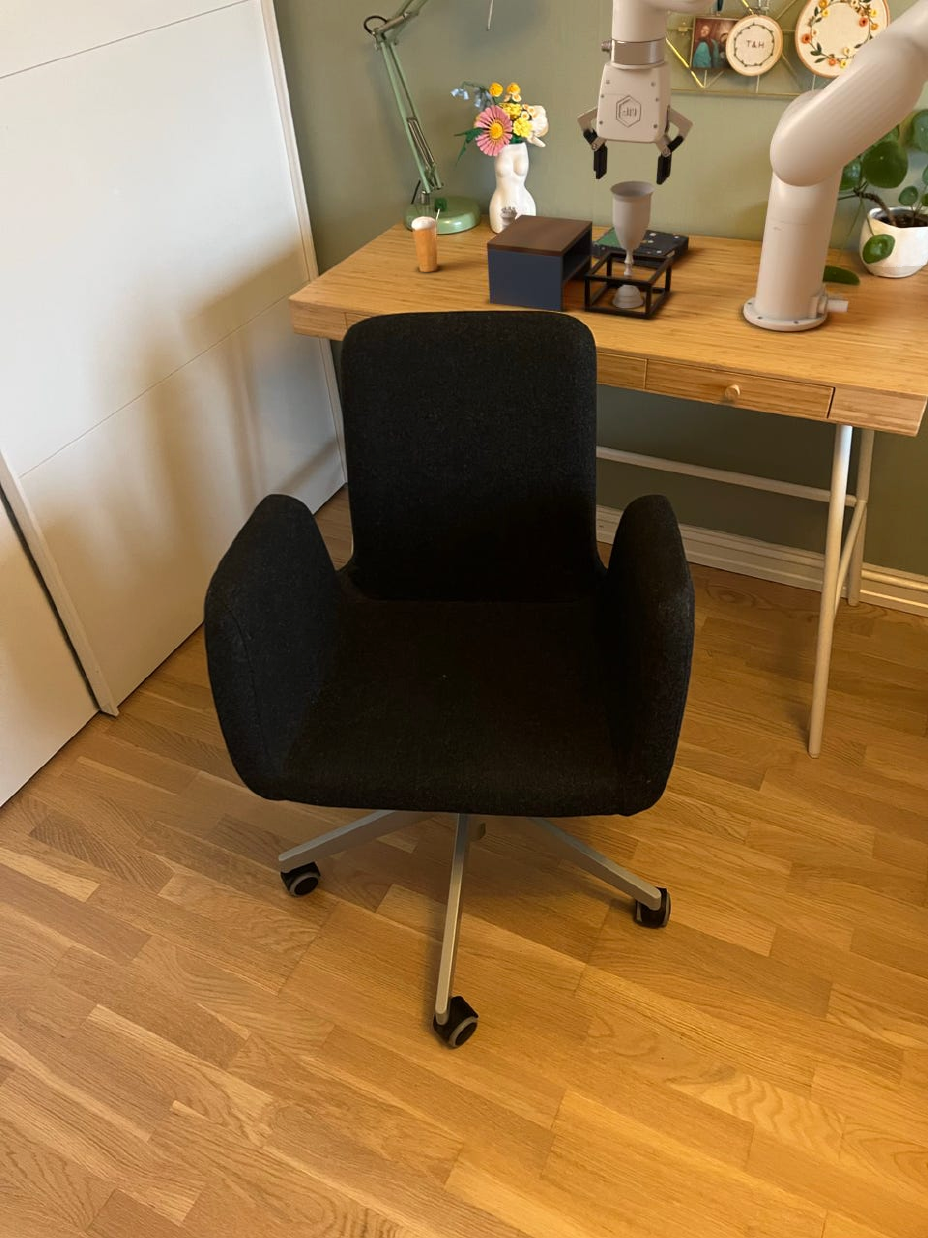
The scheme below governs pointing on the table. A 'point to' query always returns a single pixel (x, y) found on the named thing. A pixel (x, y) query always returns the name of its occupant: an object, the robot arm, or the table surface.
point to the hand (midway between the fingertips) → (631, 179)
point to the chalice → (630, 230)
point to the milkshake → (426, 242)
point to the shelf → (538, 260)
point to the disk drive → (644, 246)
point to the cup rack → (618, 282)
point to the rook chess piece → (507, 216)
